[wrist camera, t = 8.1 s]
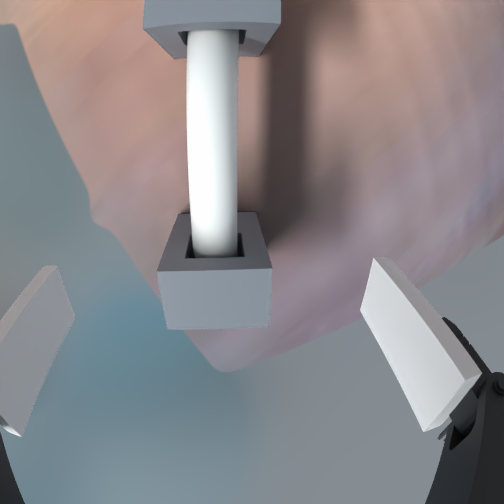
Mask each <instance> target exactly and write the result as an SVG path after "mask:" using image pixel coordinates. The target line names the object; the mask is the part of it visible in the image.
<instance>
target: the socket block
mask: <svg viewBox="0 0 504 504" xmlns="http://www.w3.org/2000/svg"><path fill="white" fill-rule="evenodd" d="M237 251H238V257H227V258H194V253H193V241H192V227H191V213H189V214H178V217H177V219H176V222H175V224H174V227H173V229H172V232H171V234H170V237H169V239H168V242H167V245H166V247H165V250H164V253H163V255H162V258H161V261H160V264H159V266H158V269H157V277H158V283H159V288H160V294H161V299H162V305H163V309H164V314H165V320H166V324H167V329H170V330H171V329H172V330H174V329H175V330H186V329H234V328H257V327H269V319H270V304H271V288H272V271H273V268H272V265H271V261H270V258H269V254H268V251H267V248H266V244H265V241H264V238H263V234H262V231H261V228H260V225H259V221H258V218H257V215H256V212H237Z"/></svg>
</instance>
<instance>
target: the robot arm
mask: <svg viewBox="0 0 504 504" xmlns="http://www.w3.org/2000/svg"><path fill="white" fill-rule="evenodd" d="M360 311H361V313H362V315H363V317H364V318H365V320H366V322H367V324H368V325H369V327H370V329H371V331H372V333H373V334H374V336H375V338H376V340H377V342H378V343H379V345H380V347H381V349H382V351H383V352H384V354H385V356H386V358H387V360H388V362H389V364H390V366H391V368H392V369H393V371H394V373H395V375H396V377H397V379H398V381H399V383H400V385H401V387H402V389H403V391H404V393H405V395H406V397H407V399H408V401H409V403H410V405H411V407H412V409H413V411H414V413H415V415H416V417H417V419H418V421H419V424H420V426H421V428H422V430H423V432H425V431H428V430H430V429H433V428H435V427H437V426H440V425H441V424H442V423H443V422H444V421H445V420H446V419H447V417H448V416H450V418H451V419H452V422H451V423H450V424H449V425H448V426H447V427H446V428H445V430H444V431H443V432H442V433H441V434H440V435H439V437H438V439H439V440H440V439H441V438H442V437H443V436H444V435H445V434H446V433H447V435H446V438H445V439H444V441H445V443H444V447H443V451H442V455H441V458H440V462H439V465H438V468H437V472H436V475H435V478H434V481H433V484H432V487H431V489H430V492H429V495H428V497H427V500H426V503H425V504H504V374H503V373H500V372H495V373H491V371H490V370H489V369H488V367H487V366H486V365H485V363H484V362H483V360H482V359H481V358H480V357H479V355H478V354H477V352H476V351H475V350H474V348H473V347H472V346H471V344H470V345H469V342H468V341H467V339H466V338H465V337H463V334H462V333H461V331H460V330H459V329H458V328H457V326H456V325H455V324H453V323H452V322H451V321H449V320H448V319H447V318H445V317H444V318H441V317H440V316H439V315H438V313H437V312H436V311H435V310H434V308H433V307H432V306H431V305H430V303H429V302H428V301H427V300H426V299H425V297H424V296H423V295H422V294H421V293H420V292H419V290H418V289H417V288H416V287H415V286H414V285H413V283H412V282H411V281H410V280H409V279H408V278H407V277H406V275H405V274H404V273H403V272H402V271H401V270H400V269H399V268H398V267H397V265H396V264H395V263H394V262H393V261H392V260H391V259H390V258H389V257H378V258H373V262H372V267H371V271H370V275H369V279H368V283H367V287H366V291H365V295H364V298H363V302H362V306H361V309H360ZM74 319H75V315H74V313H73V310H72V307H71V305H70V302H69V299H68V297H67V294H66V291H65V288H64V285H63V283H62V279H61V277H60V273H59V270H58V267H57V266H44V267H43V268H42V269H41V270H40V271H39V272H38V274H37V275H36V276H35V277H34V278H33V280H32V281H31V282H30V283H29V284H28V286H27V287H26V288H25V289H24V291H23V292H22V293H21V294H20V296H19V297H18V298H17V300H16V301H15V302H14V303H13V305H12V306H11V307H10V309H9V310H8V311H7V313H6V314H5V315H4V317H3V318H2V320H1V321H0V424H1V425H2V426H3V427H4V428H5V429H6V430H7V431H8V432H10V433H13V434H15V435H18V436H20V437H22V435H23V433H24V430H25V427H26V424H27V421H28V419H29V416H30V414H31V411H32V408H33V406H34V403H35V401H36V399H37V396H38V394H39V391H40V389H41V387H42V384H43V382H44V380H45V378H46V375H47V373H48V371H49V369H50V367H51V364H52V362H53V360H54V358H55V356H56V354H57V352H58V350H59V348H60V346H61V344H62V342H63V340H64V338H65V336H66V334H67V332H68V330H69V328H70V326H71V325H72V323H73V321H74ZM0 504H25V503H24V501H23V498H22V496H21V494H20V491H19V488H18V486H17V483H16V481H15V478H14V475H13V472H12V469H11V467H10V463H9V460H8V457H7V454H6V450H5V447H4V443H3V440H2V436H1V433H0Z"/></svg>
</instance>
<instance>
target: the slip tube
mask: <svg viewBox="0 0 504 504" xmlns="http://www.w3.org/2000/svg"><path fill="white" fill-rule="evenodd" d="M238 54H239V29H219V30H195V31H188V42H187V149H188V176H189V196H190V212H191V227H192V241H193V253H194V258H227V257H238V251H237V129H238Z"/></svg>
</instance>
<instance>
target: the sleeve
mask: <svg viewBox="0 0 504 504" xmlns="http://www.w3.org/2000/svg"><path fill="white" fill-rule="evenodd" d="M280 24H281V0H145V4H144V16H143V29H144V30H145V31H146V32H147V33H148V34H149V35H150V36H151V37H152V38H153V39H154V40H155V41H156V42H157V43H158V44H159V45H160V46H161V47H162V48H163V49H164V50H165V51H166V52H167V53H168V54H170V55H171V56H172V57H173V58H174V59H178V58H187V42H188V31H195V30H219V29H239V54H238V56H256V57H259V55H260V54H261V52H262V51H263V49H264V48H265V46H266V45H267V43H268V42H269V40H270V39H271V37H272V36H273V34H274V33H275V32H276V30H277V29H278V27H279V26H280Z"/></svg>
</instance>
